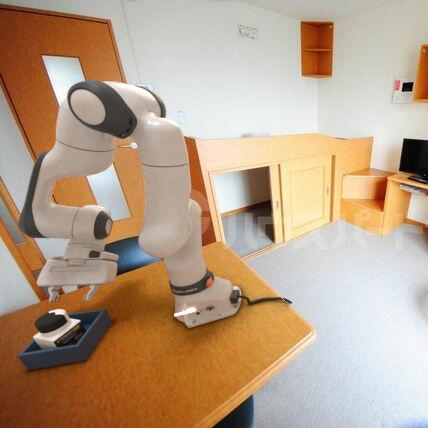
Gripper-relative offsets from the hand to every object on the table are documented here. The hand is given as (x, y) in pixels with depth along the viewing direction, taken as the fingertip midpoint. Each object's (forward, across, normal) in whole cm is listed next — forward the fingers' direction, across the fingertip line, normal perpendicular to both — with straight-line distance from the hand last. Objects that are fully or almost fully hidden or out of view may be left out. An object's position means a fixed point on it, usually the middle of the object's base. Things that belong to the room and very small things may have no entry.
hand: (70, 301), depth 71 cm
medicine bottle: (+12, -1, +4) cm, 13 cm away
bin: (+12, 0, +6) cm, 13 cm away
